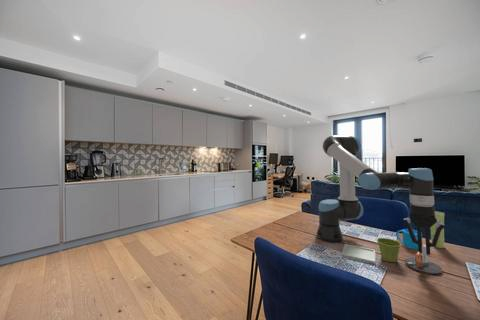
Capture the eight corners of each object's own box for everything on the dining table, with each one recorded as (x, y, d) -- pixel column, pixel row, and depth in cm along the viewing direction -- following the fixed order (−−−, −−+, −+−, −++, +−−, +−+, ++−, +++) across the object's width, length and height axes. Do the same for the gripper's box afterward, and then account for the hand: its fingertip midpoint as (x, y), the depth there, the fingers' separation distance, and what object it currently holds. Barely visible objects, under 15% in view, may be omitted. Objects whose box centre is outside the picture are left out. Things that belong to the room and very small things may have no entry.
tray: (341, 256, 97) (341, 253, 97) (345, 246, 109) (344, 243, 109) (375, 264, 89) (375, 261, 89) (375, 252, 101) (375, 249, 101)
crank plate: (407, 269, 85) (406, 265, 85) (403, 257, 95) (403, 254, 95) (445, 278, 78) (445, 274, 78) (437, 264, 88) (437, 261, 88)
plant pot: (395, 266, 87) (395, 247, 87) (373, 257, 96) (372, 240, 96) (405, 261, 92) (405, 243, 92) (383, 253, 100) (383, 236, 100)
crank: (416, 260, 90) (416, 244, 90) (430, 263, 86) (429, 247, 86) (411, 269, 82) (411, 252, 82) (425, 274, 79) (425, 256, 79)
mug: (425, 247, 105) (425, 232, 105) (417, 250, 102) (416, 235, 102) (400, 239, 116) (400, 226, 116) (392, 242, 113) (391, 228, 113)
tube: (430, 246, 107) (429, 211, 107) (429, 243, 110) (428, 209, 111) (445, 249, 103) (444, 212, 103) (443, 245, 107) (442, 210, 107)
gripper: (401, 204, 83) (403, 259, 82) (444, 208, 74) (447, 270, 73) (403, 201, 88) (405, 253, 88) (443, 205, 79) (446, 263, 79)
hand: (424, 261), depth 81 cm, fingers closed
